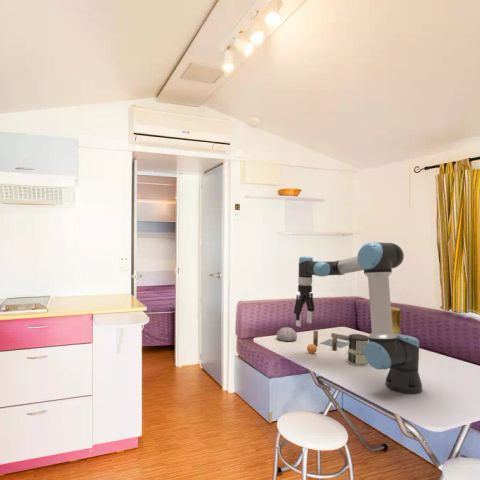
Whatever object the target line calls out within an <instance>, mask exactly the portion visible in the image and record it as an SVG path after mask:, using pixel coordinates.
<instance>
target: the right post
mask: <svg viewBox="0 0 480 480" xmlns="http://www.w3.org/2000/svg"><path fill="white" fill-rule="evenodd" d="M336 334H337V333H336ZM336 334H333V337H332V340H333V341H332V346H331V348H332V349H331V350H332V351H335V352H337V350H338V347H337V341H338V338H337V335H336Z"/></svg>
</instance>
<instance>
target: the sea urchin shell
mask: <svg viewBox="0 0 480 480" xmlns="http://www.w3.org/2000/svg"><path fill="white" fill-rule="evenodd" d="M276 338H277V339H278V340H279V341H282V342H292V341H295V340H297V339H298V334H297V331H295V330H294V329H293V328H292V327H288V326H285V327H281V328H280V329H279V330H278V331H277V332H276Z"/></svg>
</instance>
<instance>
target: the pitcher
mask: <svg viewBox="0 0 480 480" xmlns="http://www.w3.org/2000/svg"><path fill="white" fill-rule="evenodd" d="M391 315H392V328H393V333H394V334H402V332H401V325H402V310H401V309H400V308H399V307H394V306H391Z"/></svg>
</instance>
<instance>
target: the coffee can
mask: <svg viewBox="0 0 480 480" xmlns="http://www.w3.org/2000/svg"><path fill="white" fill-rule="evenodd" d="M348 336H349V341H348V343H349V344H348V351H347V356H348V357H347V362H348V364H351V365H353V366H359V367H360V366H361V367H364V366H368V365H369V363H368V362H367V361H366V359H365V356H364V347H365V346H366V344H367V343H369V335H368V336H367V335H364V334H359V333H351V334H349V335H348Z"/></svg>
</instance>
